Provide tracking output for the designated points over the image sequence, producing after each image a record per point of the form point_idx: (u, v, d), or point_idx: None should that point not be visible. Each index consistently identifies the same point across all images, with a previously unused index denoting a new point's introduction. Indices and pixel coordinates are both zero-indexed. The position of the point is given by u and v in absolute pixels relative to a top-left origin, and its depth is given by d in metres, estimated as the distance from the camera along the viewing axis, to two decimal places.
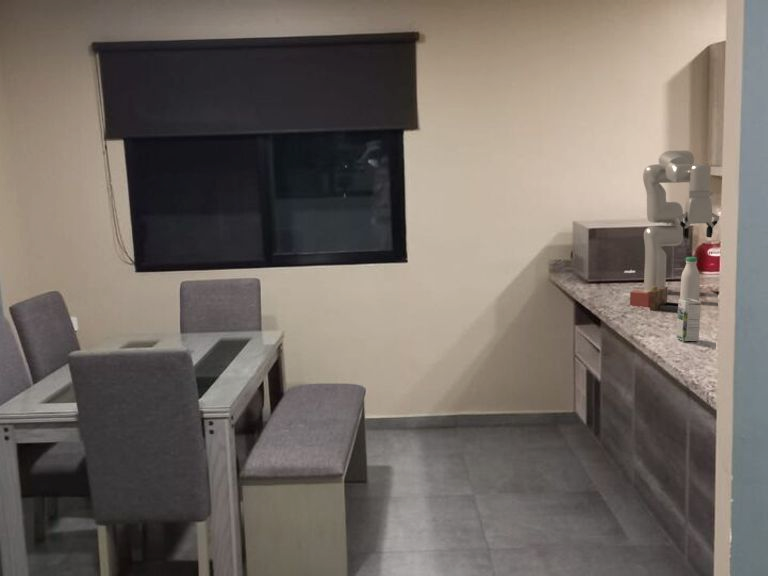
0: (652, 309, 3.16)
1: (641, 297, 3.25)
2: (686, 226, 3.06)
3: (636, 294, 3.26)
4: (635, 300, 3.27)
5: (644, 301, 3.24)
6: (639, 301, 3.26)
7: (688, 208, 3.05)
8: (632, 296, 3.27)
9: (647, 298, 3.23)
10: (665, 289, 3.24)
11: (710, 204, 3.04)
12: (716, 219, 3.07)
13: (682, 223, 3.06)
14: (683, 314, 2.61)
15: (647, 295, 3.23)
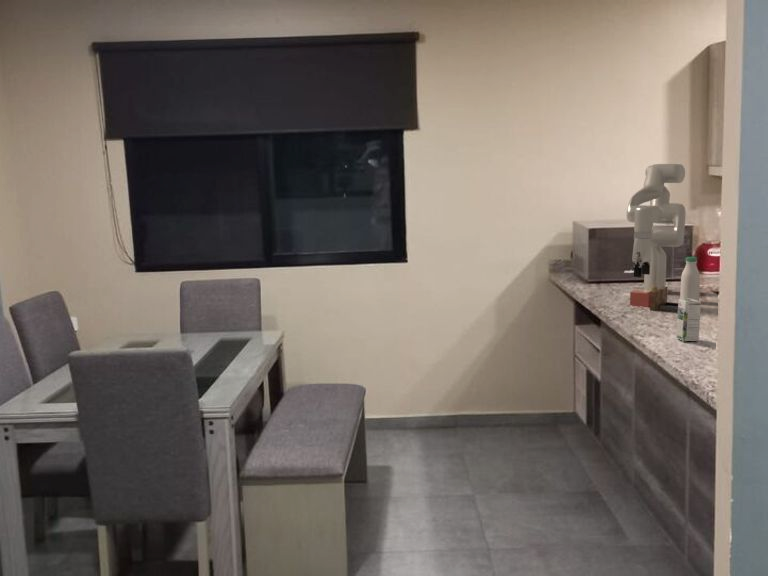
0: (652, 309, 3.16)
1: (641, 297, 3.25)
2: (640, 266, 3.19)
3: (636, 294, 3.26)
4: (635, 300, 3.27)
5: (644, 301, 3.24)
6: (639, 301, 3.26)
7: (641, 248, 3.19)
8: (632, 296, 3.27)
9: (647, 298, 3.23)
10: (665, 289, 3.24)
11: (650, 243, 3.25)
12: None
13: (638, 263, 3.18)
14: (683, 314, 2.61)
15: (647, 295, 3.23)
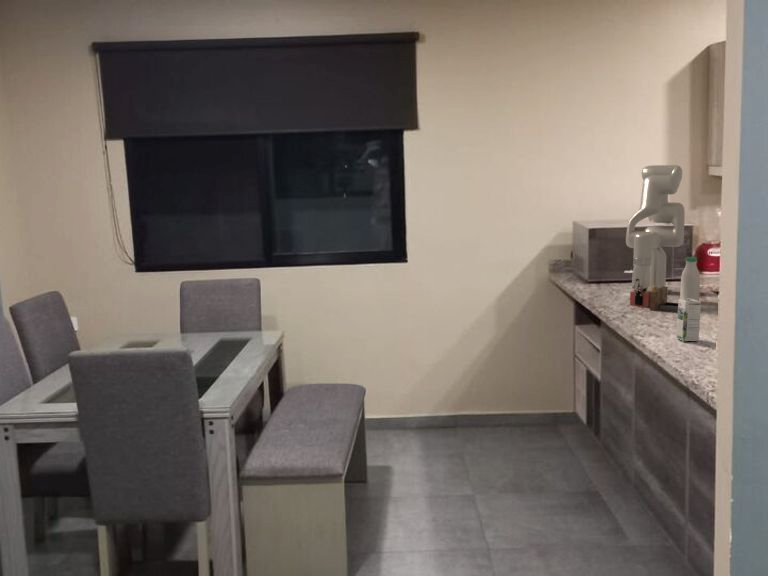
0: (652, 309, 3.16)
1: None
2: (641, 294, 3.23)
3: None
4: None
5: (644, 300, 3.24)
6: None
7: (640, 275, 3.21)
8: (632, 296, 3.27)
9: (647, 298, 3.23)
10: (665, 289, 3.24)
11: (650, 269, 3.27)
12: None
13: None
14: (683, 314, 2.61)
15: (647, 295, 3.23)
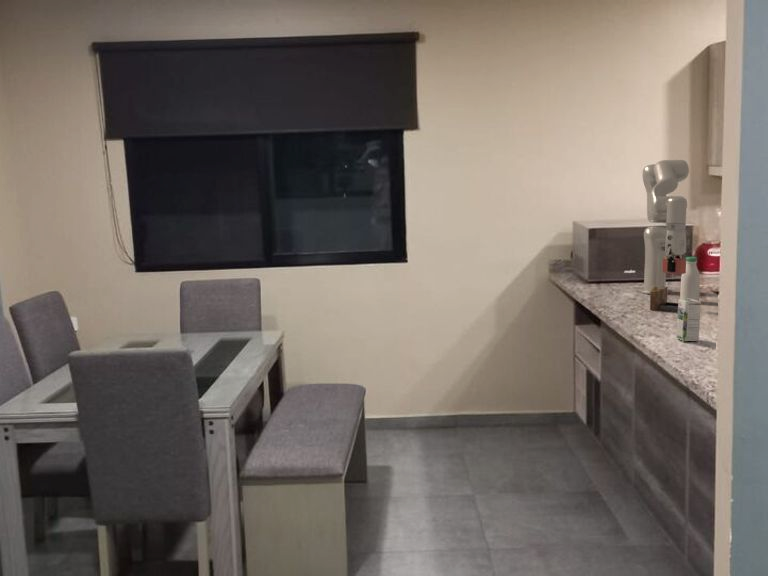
0: (652, 309, 3.16)
1: None
2: None
3: None
4: None
5: None
6: None
7: None
8: None
9: None
10: (665, 289, 3.24)
11: (666, 236, 3.12)
12: None
13: None
14: (683, 314, 2.61)
15: None
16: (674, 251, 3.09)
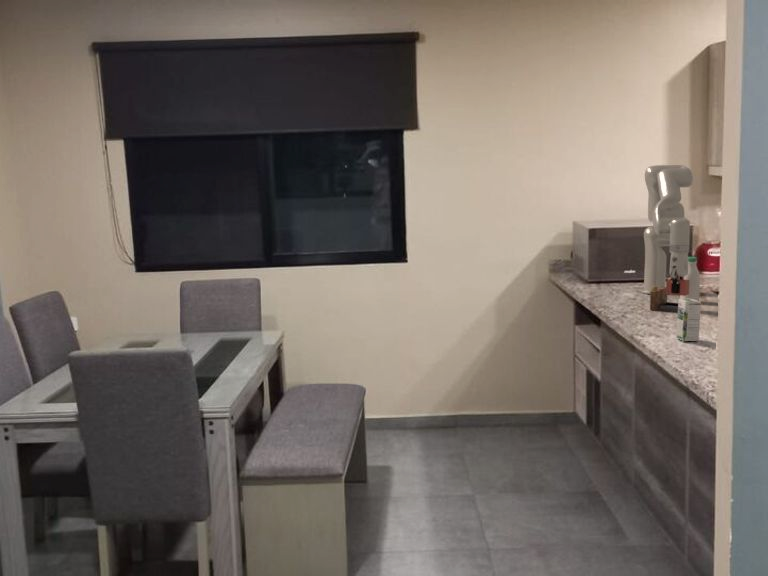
0: (652, 309, 3.16)
1: None
2: None
3: None
4: None
5: None
6: None
7: None
8: None
9: None
10: (665, 289, 3.24)
11: None
12: None
13: None
14: (683, 314, 2.61)
15: None
16: (679, 273, 3.10)
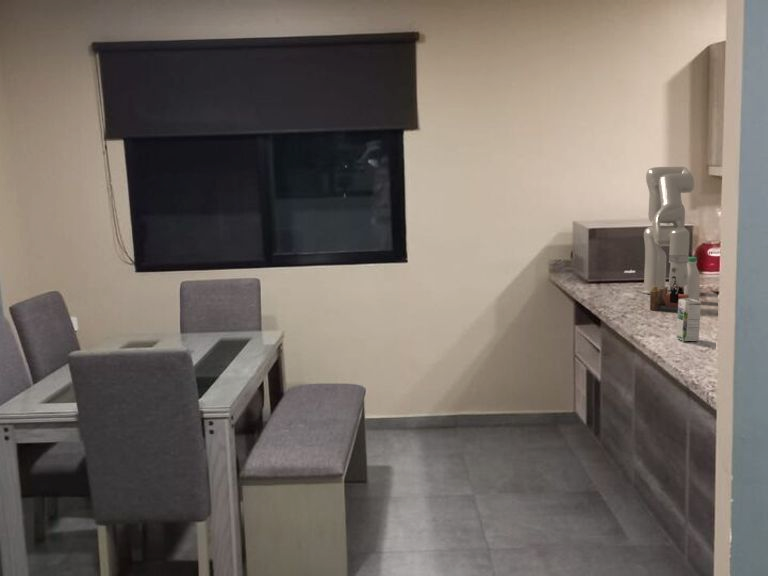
0: (652, 309, 3.16)
1: None
2: None
3: None
4: None
5: None
6: None
7: None
8: None
9: None
10: (665, 289, 3.24)
11: (670, 268, 3.13)
12: None
13: None
14: (683, 314, 2.61)
15: None
16: (678, 283, 3.10)
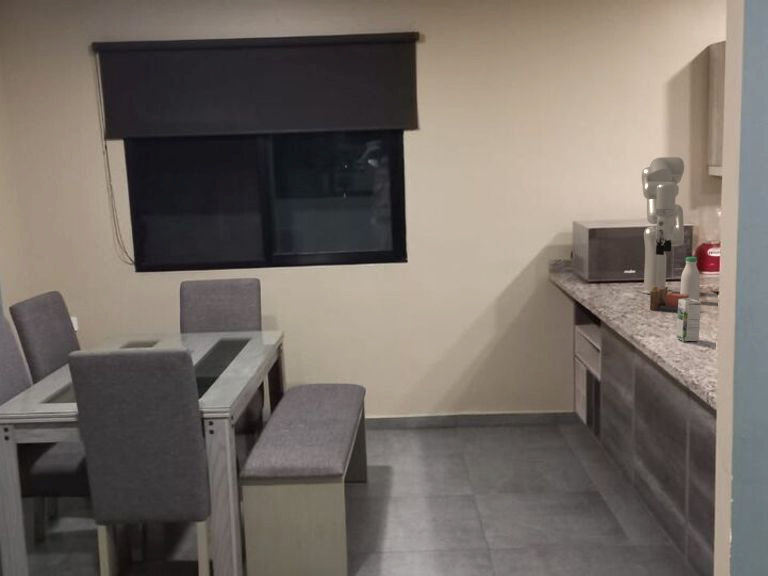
0: (652, 309, 3.16)
1: None
2: None
3: None
4: None
5: None
6: None
7: None
8: None
9: None
10: (665, 289, 3.24)
11: (657, 222, 3.17)
12: None
13: None
14: (683, 314, 2.61)
15: None
16: (665, 236, 3.15)
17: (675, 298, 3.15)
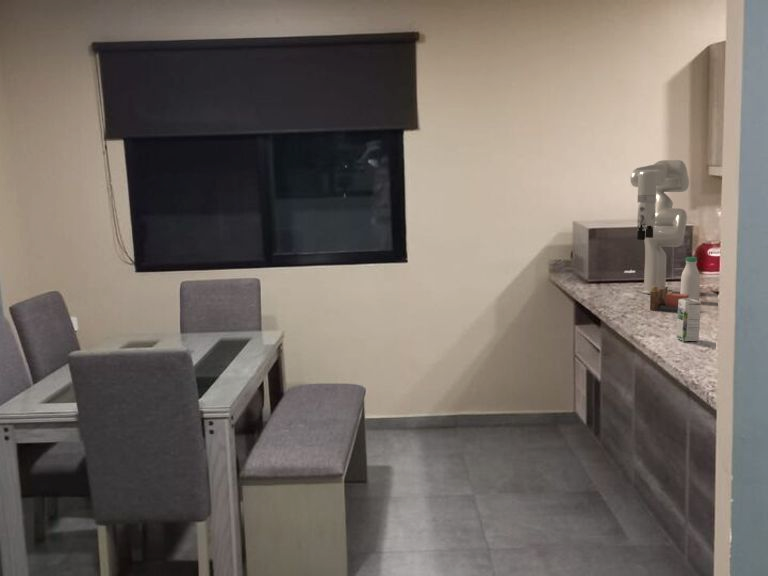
0: (652, 309, 3.16)
1: None
2: None
3: None
4: None
5: None
6: None
7: None
8: None
9: None
10: (665, 289, 3.24)
11: (638, 208, 3.26)
12: None
13: None
14: (683, 314, 2.61)
15: None
16: (646, 222, 3.24)
17: (675, 298, 3.15)
